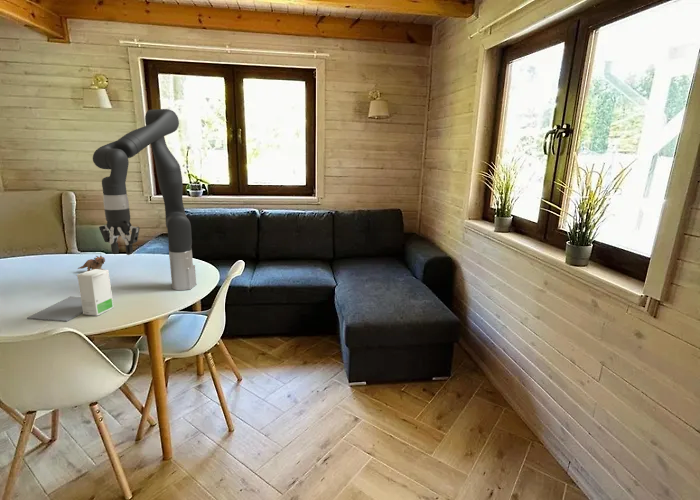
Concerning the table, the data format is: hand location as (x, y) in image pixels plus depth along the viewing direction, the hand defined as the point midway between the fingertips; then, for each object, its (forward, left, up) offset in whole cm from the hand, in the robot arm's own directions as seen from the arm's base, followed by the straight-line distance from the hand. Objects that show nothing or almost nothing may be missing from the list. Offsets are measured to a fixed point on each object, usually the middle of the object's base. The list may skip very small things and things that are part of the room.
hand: (122, 253), depth 139 cm
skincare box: (+12, 0, -24) cm, 27 cm away
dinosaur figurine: (+44, -40, -24) cm, 64 cm away
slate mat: (+24, 0, -23) cm, 34 cm away
